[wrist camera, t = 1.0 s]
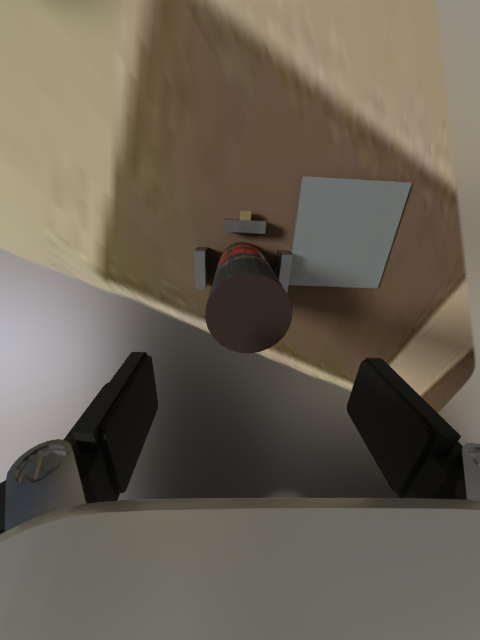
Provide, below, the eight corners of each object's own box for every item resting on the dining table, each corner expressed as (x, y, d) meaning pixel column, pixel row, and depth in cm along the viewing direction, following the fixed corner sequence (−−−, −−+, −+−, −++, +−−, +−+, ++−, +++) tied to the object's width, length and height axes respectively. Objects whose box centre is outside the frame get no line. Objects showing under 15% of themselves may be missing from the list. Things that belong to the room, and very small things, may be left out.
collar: (196, 208, 26) (192, 208, 23) (292, 213, 26) (298, 213, 24) (199, 311, 32) (196, 320, 29) (278, 313, 32) (283, 323, 29)
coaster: (301, 177, 25) (303, 176, 24) (408, 183, 25) (411, 182, 25) (286, 283, 30) (287, 285, 30) (375, 287, 31) (377, 288, 30)
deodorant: (274, 257, 29) (310, 300, 15) (250, 296, 31) (262, 364, 17) (232, 232, 27) (231, 256, 14) (210, 275, 29) (191, 332, 16)
